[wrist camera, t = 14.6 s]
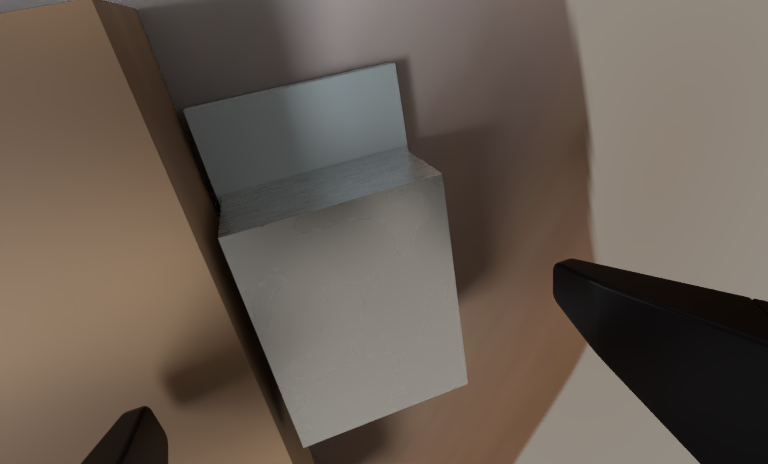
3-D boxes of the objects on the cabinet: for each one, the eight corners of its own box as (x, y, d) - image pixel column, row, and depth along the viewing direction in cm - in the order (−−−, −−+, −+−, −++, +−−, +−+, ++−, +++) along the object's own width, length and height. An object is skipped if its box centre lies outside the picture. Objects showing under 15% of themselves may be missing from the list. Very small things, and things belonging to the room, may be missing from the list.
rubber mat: (437, 364, 15) (442, 373, 15) (303, 415, 14) (304, 424, 14) (389, 62, 10) (395, 63, 10) (185, 108, 9) (182, 111, 9)
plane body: (325, 490, 16) (343, 580, 13) (94, 586, 14) (62, 708, 12) (135, 8, 8) (90, -3, 6) (-380, 101, 7) (-747, 140, 4)
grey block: (431, 328, 14) (467, 383, 11) (292, 377, 13) (303, 447, 11) (401, 146, 11) (442, 173, 9) (222, 194, 10) (217, 238, 8)
